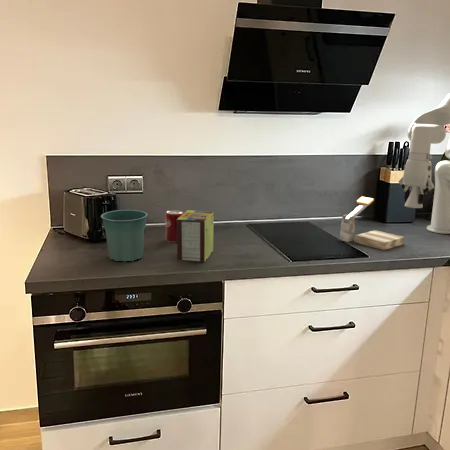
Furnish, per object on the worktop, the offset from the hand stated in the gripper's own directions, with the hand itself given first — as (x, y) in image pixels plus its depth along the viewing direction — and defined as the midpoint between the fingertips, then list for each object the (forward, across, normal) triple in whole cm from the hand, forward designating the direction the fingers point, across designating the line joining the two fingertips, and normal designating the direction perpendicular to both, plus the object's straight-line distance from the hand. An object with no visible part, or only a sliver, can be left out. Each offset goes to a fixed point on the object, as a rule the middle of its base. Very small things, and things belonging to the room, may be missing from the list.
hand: (414, 201), depth 210 cm
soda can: (+19, +63, +72) cm, 98 cm away
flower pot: (+19, +56, +99) cm, 116 cm away
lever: (+7, +20, +9) cm, 23 cm away
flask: (+2, 0, 0) cm, 2 cm away
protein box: (+19, +42, +78) cm, 91 cm away
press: (+18, +12, +10) cm, 23 cm away
